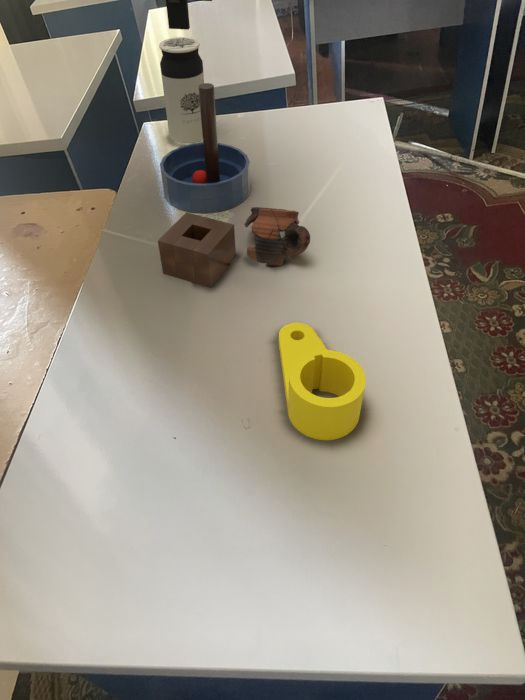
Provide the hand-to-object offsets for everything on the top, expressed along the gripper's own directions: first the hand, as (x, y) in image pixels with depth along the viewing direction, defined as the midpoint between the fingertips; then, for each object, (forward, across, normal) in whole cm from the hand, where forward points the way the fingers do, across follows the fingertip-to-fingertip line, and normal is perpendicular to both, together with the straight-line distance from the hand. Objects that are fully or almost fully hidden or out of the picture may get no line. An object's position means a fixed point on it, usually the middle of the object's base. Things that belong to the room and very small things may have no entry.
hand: (192, 13), depth 81 cm
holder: (+29, -21, -4) cm, 36 cm away
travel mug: (+29, +21, +9) cm, 37 cm away
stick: (+28, 0, -1) cm, 28 cm away
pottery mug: (+29, -15, -15) cm, 36 cm away
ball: (+28, +1, +2) cm, 28 cm away
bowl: (+29, 0, 0) cm, 29 cm away
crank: (+29, -41, -23) cm, 56 cm away
